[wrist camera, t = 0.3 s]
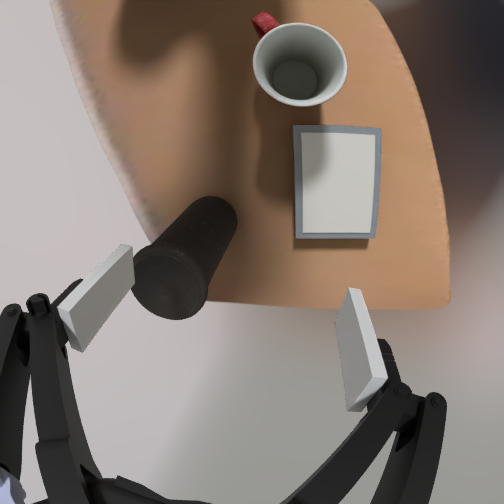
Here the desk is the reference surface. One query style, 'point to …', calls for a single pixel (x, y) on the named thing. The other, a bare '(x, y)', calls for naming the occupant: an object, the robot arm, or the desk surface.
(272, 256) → the desk surface
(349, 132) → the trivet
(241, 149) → the desk surface
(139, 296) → the container
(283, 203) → the desk surface
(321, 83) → the mug
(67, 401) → the robot arm
